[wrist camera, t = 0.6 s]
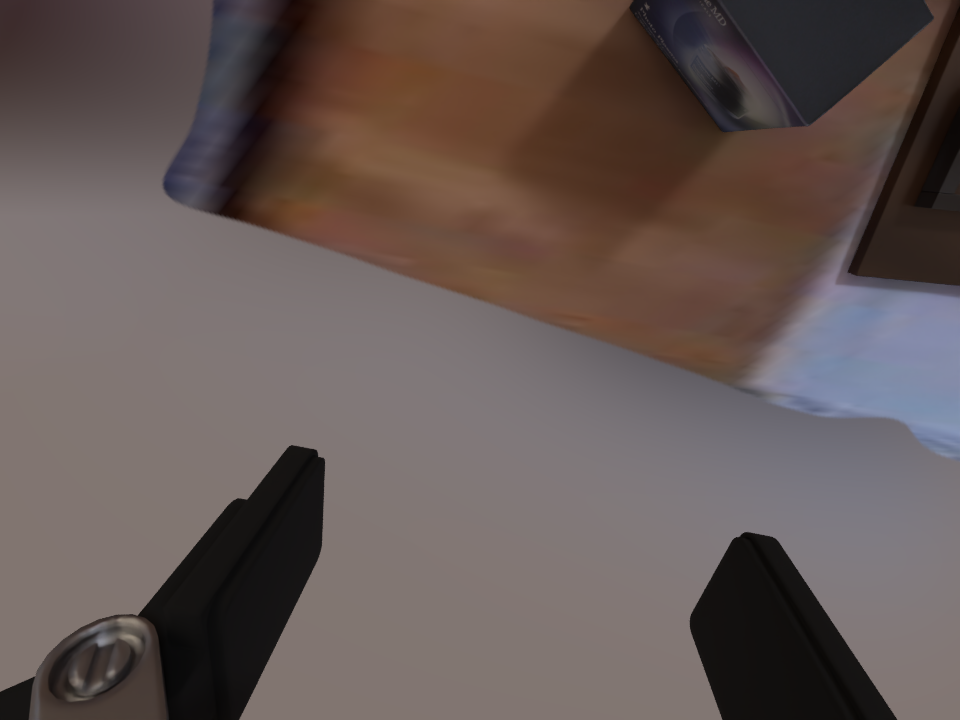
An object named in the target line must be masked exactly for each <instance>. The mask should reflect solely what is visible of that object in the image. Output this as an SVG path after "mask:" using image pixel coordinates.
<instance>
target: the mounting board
mask: <svg viewBox="0 0 960 720" xmlns="http://www.w3.org/2000/svg"><path fill="white" fill-rule="evenodd" d="M848 273H851V274H853V275H856V276H866V277H876V278H886V279H897V280H907V281H917V282H927V283H937V284H947V285H957V286H960V8H959V10H958V12H957V15H956V17H955V20H954V22H953V24H952V27H951V29H950V31H949V34H948V36H947V39H946V41H945V43H944V46H943V48H942V50H941V53H940V55H939V57H938V60H937V62H936V65H935V67H934V69H933V72H932V74H931V76H930V79H929V81H928V84H927V86H926V88H925V91H924V93H923V95H922V98H921V100H920V102H919V105H918V107H917V110H916V112H915V114H914V117H913V119H912V121H911V124H910V126H909V128H908V131H907V133H906V136H905V138H904V140H903V143H902V145H901V147H900V150H899V152H898V155H897V157H896V159H895V162H894V164H893V166H892V169H891V171H890V173H889V176H888V178H887V181H886V183H885V185H884V188H883V190H882V192H881V195H880V197H879V200H878V202H877V204H876V207H875V209H874V211H873V214H872V216H871V218H870V221H869V223H868V226H867V228H866V230H865V233H864V235H863V237H862V240H861V242H860V244H859V247H858V249H857V252H856V254H855V256H854V259H853V261H852V263H851V266H850V268H849V271H848Z"/></svg>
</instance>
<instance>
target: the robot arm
mask: <svg viewBox="0 0 960 720" xmlns="http://www.w3.org/2000/svg"><path fill="white" fill-rule="evenodd" d="M324 474H325V459H324V458H321V457H318V452H317V450H314V449H309V448H304V447H299V446H293V445H291V446H289V447H288V448H287V450H286V451H285V452H284V453H283V454H282V456H281V457H280V458H279V460H278V461H277V462H276V464H275V465H274V466H273V467H272V469H271V470H270V471H269V472H268V474H267V475H266V476H265V478H264V479H263V480H262V482H261V483H260V484H259V485H258V487H257V488H256V489H255V490H254V492H253V493H252V494H251V496H250V497H249V498H248V499H247V500H245V499H239V498H238V499H236V500H234V501H233V502H231V503H230V504H229V505H228V506H227V507H226V509H225V510H224V511H223V513H222V514H221V515H220V516H219V517H218V518H217V520H216V521H215V522H214V523H213V524H212V526H211V527H210V528H209V529H208V531H207V532H206V533H205V534H204V536H203V537H202V538H201V539H200V540H199V542H198V543H197V544H196V545H195V546H194V548H193V549H192V550H191V551H190V553H189V554H188V555H187V556H186V557H185V559H184V560H183V561H182V562H181V564H180V565H179V566H178V567H177V568H176V570H175V571H174V572H173V573H172V574H171V576H170V577H169V578H168V579H167V581H166V582H165V583H164V584H163V585H162V587H161V588H160V589H159V590H158V592H157V593H156V594H155V595H154V596H153V598H152V599H151V600H150V602H149V603H148V604H147V605H146V606H145V607H144V609H143V610H142V611H141V612H140V614H139V615H138V616H136V615H133V614H129V615H114V616H110V617H106V618H102V619H99V620H96V621H94V622H92V623H90V624H88V625H86V626H83V627H81V628H80V629H78V630H77V631H75V632H74V633H72V634H71V635H69V636H68V637H66V638H65V639H63V640H62V641H61V642H60V643H59V644H58V645H57V646H56V647H55V648H54V649H53V650H52V651H51V652H50V653H49V654H48V655H47V656H46V658H45V659H44V661H43V663H42V664H41V665H40V667H39V668H38V670H37V673H36V676H35V677H33V678H31V679H28V680H26V681H24V682H21V683H19V684H17V685H15V686H12V687H10V688H8V689H5V690H3V691H1V692H0V720H239V719H240V717H241V715H242V713H243V711H244V709H245V707H246V705H247V703H248V701H249V699H250V697H251V694H252V693H253V690H254V689H255V687H256V685H257V682H258V680H259V678H260V676H261V674H262V672H263V670H264V668H265V666H266V664H267V662H268V660H269V658H270V656H271V654H272V652H273V650H274V648H275V646H276V644H277V642H278V640H279V638H280V636H281V634H282V632H283V629H284V628H285V625H286V623H287V621H288V619H289V617H290V615H291V613H292V611H293V609H294V607H295V605H296V603H297V601H298V599H299V597H300V595H301V593H302V591H303V589H304V587H305V585H306V583H307V580H308V579H309V577H310V575H311V573H312V570H313V568H314V566H315V564H316V562H317V560H318V557H319V555H320V551H321V547H322V529H323V502H324V501H323V500H324V476H325V475H324ZM690 629H691V633H692V636H693V639H694V641H695V645H696V647H697V650H698V653H699V655H700V658H701V661H702V664H703V667H704V670H705V672H706V675H707V678H708V681H709V683H710V686H711V689H712V692H713V694H714V697H715V700H716V703H717V706H718V708H719V711H720V714H721V717H722V720H897V719H896V717H895V716H894V714H893V713H892V711H891V710H890V708H889V707H888V705H887V704H886V702H885V701H884V699H883V698H882V696H881V695H880V693H879V692H878V690H877V689H876V687H875V686H874V684H873V683H872V681H871V680H870V678H869V677H868V675H867V674H866V672H865V671H864V669H863V668H862V666H861V665H860V663H859V662H858V660H857V659H856V657H855V656H854V654H853V653H852V651H851V650H850V648H849V647H848V645H847V644H846V642H845V641H844V639H843V638H842V636H841V635H840V633H839V632H838V630H837V629H836V627H835V626H834V624H833V623H832V621H831V620H830V618H829V617H828V615H827V614H826V612H825V611H824V609H823V608H822V606H821V605H820V603H819V602H818V601H817V599H816V597H815V596H814V594H813V593H812V591H811V590H810V588H809V587H808V585H807V584H806V582H805V581H804V579H803V578H802V576H801V575H800V573H799V572H798V570H797V569H796V567H795V566H794V564H793V563H792V561H791V560H790V558H789V557H788V555H787V554H786V552H785V551H784V549H783V548H782V546H781V545H780V543H779V542H778V541H777V540H776V539H775V538H773V537H770V536H765V535H760V534H755V533H749V532H745V533H743V534H742V535H741V536H740V537H736V538H734V539H733V540H732V542H731V544H730V546H729V547H728V549H727V551H726V553H725V554H724V556H723V558H722V560H721V562H720V564H719V565H718V567H717V569H716V571H715V573H714V574H713V576H712V578H711V580H710V581H709V583H708V585H707V587H706V589H705V590H704V592H703V594H702V596H701V598H700V599H699V601H698V603H697V605H696V607H695V608H694V610H693V612H692V614H691V617H690Z"/></svg>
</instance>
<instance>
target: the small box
mask: <svg viewBox="0 0 960 720" xmlns="http://www.w3.org/2000/svg"><path fill="white" fill-rule="evenodd" d="M630 9H631V11H632V13H633V14H634V16H635V17H636V18H637V19H638V21H639V22H640V23H641V25H642V26H643V27H644V29H645V30H646V31H647V33H648V34H649V35H650V37H651V38H652V39H653V41H654V42H655V43H656V45H657V46H658V47H659V49H660V50H661V51H662V53H663V54H664V55H665V57H666V58H667V59H668V61H669V62H670V63H671V64H672V66H673V67H674V68H675V70H676V71H677V72H678V74H679V75H680V76H681V78H682V79H683V81H684V82H685V83H686V84H687V86H688V87H689V88H690V90H691V91H692V92H693V94H694V95H695V96H696V98H697V99H698V100H699V102H700V103H701V104H702V106H703V107H704V108H705V110H706V111H707V112H708V114H709V115H710V116H711V117H712V119H713V120H714V121H715V123H716V124H717V125H718V127H719V128H720V129H721V131H722V132H732V131H744V130H757V129H768V128H783V127H796V126H809V125H811V124H812V123H813V122H815V121H816V120H817V119H818V118H820V117H821V116H822V115H823V114H825V113H826V112H827V111H828V110H830V109H831V108H832V107H833V106H834V105H835V104H837V103H838V102H839V101H840V100H841V99H842V98H843V97H844V96H846V95H847V94H848V93H849V92H851V91H852V90H853V89H854V88H855V87H856V86H858V85H859V84H860V83H861V82H862V81H864V80H865V79H866V78H867V77H868V76H869V75H870V74H872V73H873V72H874V71H875V70H876V69H877V68H878V67H880V66H881V65H882V64H883V63H884V62H886V61H887V60H888V59H889V58H890V57H891V56H892V55H894V54H895V53H896V52H897V51H898V50H899V49H900V48H902V47H903V46H904V45H905V44H906V43H907V42H909V41H910V40H911V39H912V38H913V37H914V36H915V35H917V34H918V33H919V32H920V31H921V30H922V29H924V28H925V27H926V26H927V25H928V24H929V23H930V22H931V21H932V20H933V19H934V16H933V15H932V13H931V12H930V10H929V8H928V6H927V4H926V3H925V1H924V0H634V1H633V2H632V4H631V6H630Z"/></svg>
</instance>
